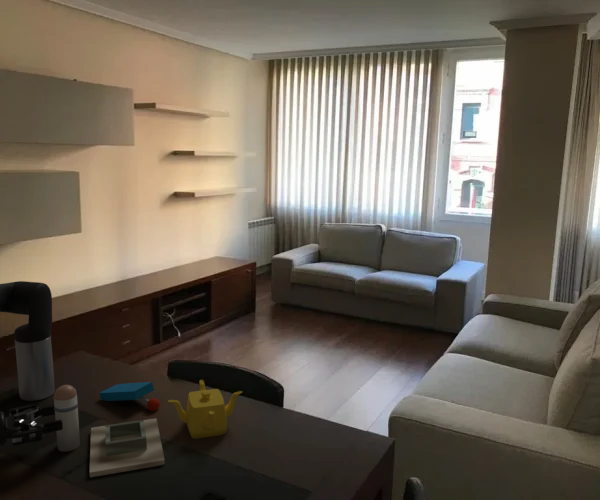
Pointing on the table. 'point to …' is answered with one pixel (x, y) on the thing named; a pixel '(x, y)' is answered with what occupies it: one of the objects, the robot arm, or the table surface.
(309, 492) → the table surface
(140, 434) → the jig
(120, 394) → the lever
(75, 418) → the brown-capped white canister
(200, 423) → the teapot
